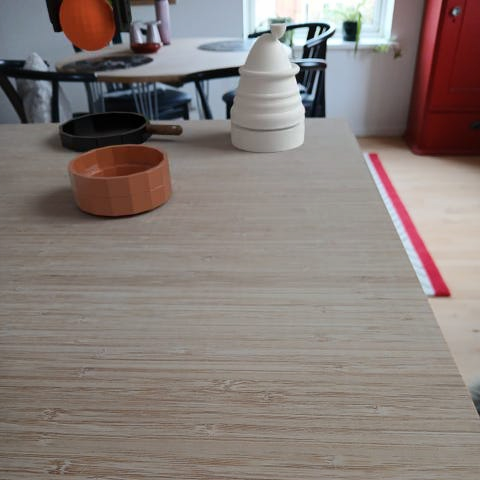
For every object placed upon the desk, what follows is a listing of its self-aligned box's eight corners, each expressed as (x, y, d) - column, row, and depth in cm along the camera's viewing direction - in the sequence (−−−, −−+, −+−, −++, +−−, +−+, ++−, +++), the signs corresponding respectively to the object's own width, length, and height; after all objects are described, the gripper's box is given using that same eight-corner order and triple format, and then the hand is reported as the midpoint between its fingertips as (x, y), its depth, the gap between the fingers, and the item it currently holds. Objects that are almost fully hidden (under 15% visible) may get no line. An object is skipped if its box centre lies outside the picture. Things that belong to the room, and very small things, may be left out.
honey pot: (316, 135, 92) (322, 20, 81) (280, 157, 84) (282, 31, 73) (255, 126, 98) (254, 17, 87) (216, 145, 90) (209, 27, 79)
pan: (45, 150, 91) (41, 134, 89) (87, 123, 103) (84, 109, 102) (168, 155, 86) (166, 139, 84) (196, 127, 99) (195, 112, 97)
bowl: (59, 215, 68) (49, 175, 65) (102, 178, 79) (95, 142, 75) (152, 222, 66) (146, 181, 62) (184, 183, 76) (180, 146, 73)
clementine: (137, 47, 68) (128, -17, 64) (104, 57, 63) (93, -12, 59) (89, 45, 71) (78, -16, 67) (55, 54, 66) (40, -11, 62)
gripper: (147, -156, 57) (166, 26, 67) (7, -144, 60) (46, 27, 70) (120, -166, 51) (145, 35, 61) (-33, -153, 54) (16, 35, 65)
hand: (92, 30), depth 66 cm, fingers closed on clementine, 8 cm apart
